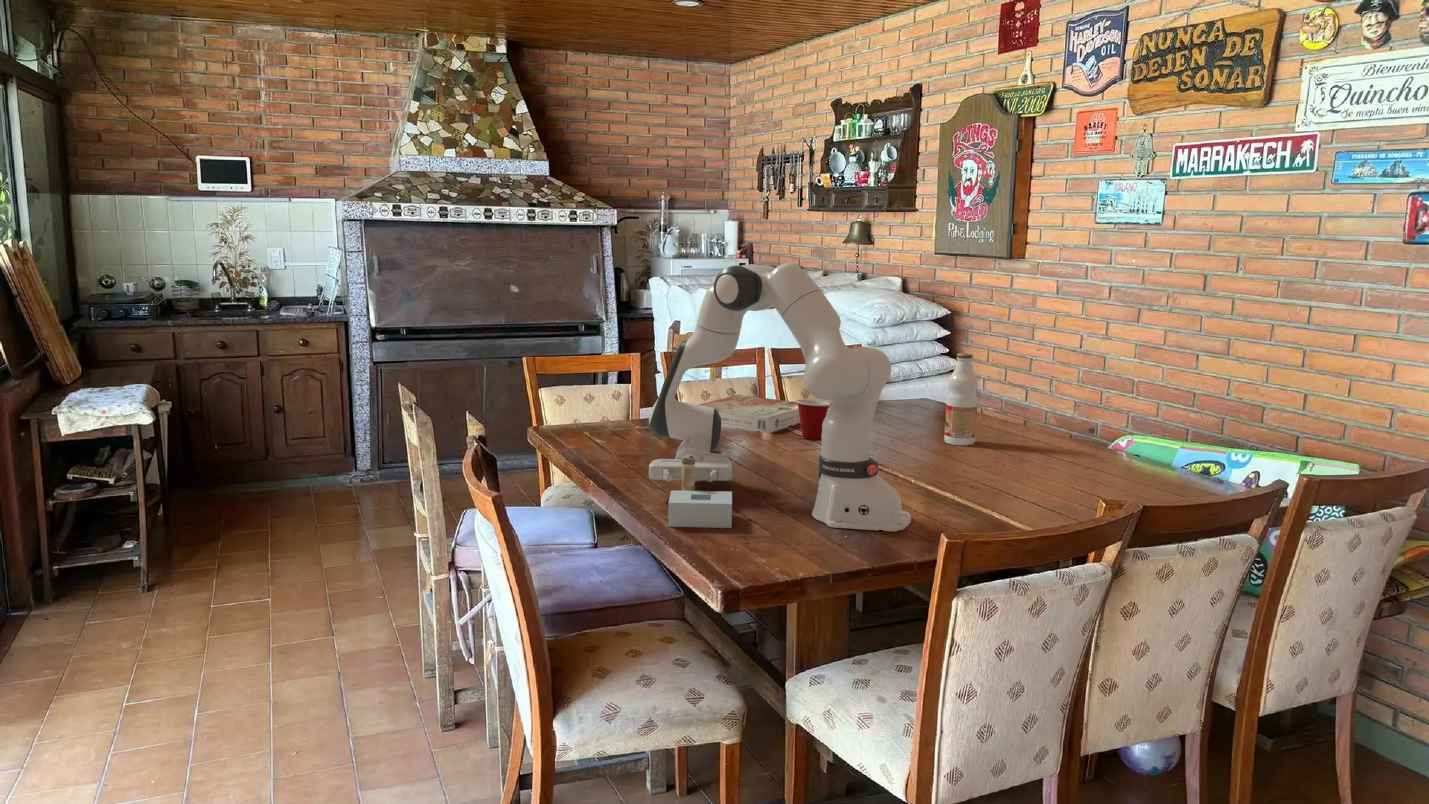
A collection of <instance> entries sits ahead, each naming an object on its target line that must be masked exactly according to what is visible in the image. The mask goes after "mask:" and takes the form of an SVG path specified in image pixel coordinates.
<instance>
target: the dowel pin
mask: <svg viewBox="0 0 1429 804" xmlns="http://www.w3.org/2000/svg"><path fill="white" fill-rule="evenodd" d="M695 483H696V482H695V459H693V458H684V459H682V480H681V491H696V486H695V485H696V484H695Z"/></svg>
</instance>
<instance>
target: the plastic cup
mask: <svg viewBox="0 0 1429 804" xmlns="http://www.w3.org/2000/svg"><path fill="white" fill-rule="evenodd" d="M795 402H797V403H798V409H799V416H800V423H799V424H800V428H801V436H802V439H804V440H807V441H808V440H809V441H818V440H820V439H821V440H822V424H823V421H824V419H825V417H826V416H827V414H828V410H829V407H830V406H832V404H831V403H830V402H828V401H825V400H823V401H822V400H818V399H817V400H815V399H797V400H796V401H795Z"/></svg>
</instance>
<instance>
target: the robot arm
mask: <svg viewBox="0 0 1429 804" xmlns="http://www.w3.org/2000/svg"><path fill="white" fill-rule="evenodd" d="M773 309H775V310H776V311H777V313H778V314H779V316H780V318H781V319H782V320H783V322H784V323H785V325H786V326H787V328H788V329H789V332H791V334H792V336H793V337H794V339H795V340H796V342H797V344H798V345H799V347H800V349H801V352H802V355H803V358H804V363H805V368H804V372H803V381H804V385H805V388H806V389H807V391H808V393H809V394H810V395H812V396H813V398H816V399H817V400H823V401H831V402H832V401H833V402H832V404H831V407H830V409H829V411H828V412H827V414H826V417H825V419H824V421H823V424H822V436H821V450H820V451H821V452H820V454H819V458H818V466H817V474H818V480H819V481H818V488H817V494H816V498H815V501H814V502H815V503H814V506H813V509H812V512H811V516H812V517H813V518H814V519H815V520H817V521H819V522H822V523H824V524H826V525H827V526H828V527H830V528H836V529H838V528H839V529H852V530H853V529H854V530H865V531H869V530H870V531H879V530H883V531H882V532H900V531H902V530H905V529H907V528H908V527H909V526H910V525H911V523H912V515H911V514H910V513H909V512H908V511H906V510H903V508H902V507H903V506H902V500H901V496H900V493H899V492H898V491H897V490H896V489H895V488H894V487H893V486H891V485H890V484H889V483H888V482H887V481H885V480H884V479H883V478H882V477H881V476H880V475H879V473H878V472H879V465H880V464H879V459H877V460H876V461H875V460H874V458H872V457H871V441H872V426H873V421H874V416H875V413H876V408H877V406H878V402H879V399H880V396H881V393H882V391H883V389H884V387H885V386H886V384H887V383H888V381H889V380H890V377H891V374H892V365H891V361H890V359H889V357H888V356H887V354H886V353H884V351H882V350H880V349H878V348H874V347H870V346H862V345H861V346H855V347H848V346H847V345H846V343H845V342H844V339H843V337H842V334H841V331H840V328H841V323H842V322H841V320H842V319H841V317H840V315H839V314H838V313H837V311H836V309H835V308H834V307H833V305H832V304H831V302H830V301H829V300H828V298H827V297H826V295H825V294H824V293H823V290H822V289H821V288H820V287H819V285H818V284H817V283H816V282H815V281H814V279H813V278H812V277H811V276H810V275H809V274H808V272H807V271H805V270H804V269H803V268H802V267H801V266H800V265H798V264H797V263H795V262H786V263H783V264H780V265H778V266H777V265H772V264H771V265H770V264H768V265H763V264H755V263H751V264H742V265H732V266H729V267H726V268H724V269H721V271H720V272H718V274H717V275H716V277H715V278H714V282H713V284H712V285H711V286H709V287H708V289H706V292H705V295H704V297H703V300H702V303H701V305H700V308H699V313H698V317H697V321H696V326H695V329H694V331H693V333H692V334H691V335H690V337H689V338H688V339H684V340H683V341H681V342H680V344H679V345H678V347H677V349H676V352H675V354H674V357H673V358H672V361H671V362H670V366H669V368H668V369H667V370H668V371H667V373H666V376H665V378H664V381H663V384H662V386H661V391H660V393H659V395H658V397H657V399H656V401H655V402H654V404H653V406H652V407H651V410H650V414H649V418H648V425H649V426H648V427H649V428H650V430H651V431H652V433H653V434H654V435H655V436H656V437H658V438H664V439H675V440H679V441H682V442H681V443H680V445H679V446H678V448H677V450H676V453H675V454H676V455H675V458H656V459H654V460H652V461H651V462H650V463H649V464H648V478H649V479H650V480H660V481H662V480H665V481H666V482H673V481H682V459H684V458H693V459H695V483H698V482H702V481H705V482H707V483H713V481H720V482H721V481H723V482H724V481H725V482H726V481H727V482H728V481H729V482H730V481H732V479H733V478H732V477H733V464H732V462H731V460H730V458H728V457H727V453H726V452H723V451H718V450H717V451H716V449H717V448H718V445H719V442H720V438H721V432H722V431H721V430H722V426H721V417H720V415H719V413H718V411H717V410H716V409H715V408H711V407H707V406H702V405H700V404H694V403H689V402H683V401H680V400H677V399H676V398H675V397H676V395H677V392H678V390H679V387H680V385H681V382H682V380H683V377H684V375H685V374H686V372H687V371H688V370H690V369H693V368H695V367H699V366H704V365H705V366H706V365H711V364H715V363H719V362H723V361H724V360H726V359H727V358H729V357H730V356H732V355H733V353H735V351H736V348H737V346H738V344H739V339H740V334H741V330H742V325H743V320H744V316H745V314H747V312H748V311H749V312H751V311H752V312H757V311H765V310H773ZM696 408H697V410H696ZM695 413H696V415H695ZM694 418H695V420H694ZM909 524H910V525H909ZM906 527H907V528H906ZM899 530H900V531H899Z"/></svg>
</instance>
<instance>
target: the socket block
mask: <svg viewBox="0 0 1429 804" xmlns="http://www.w3.org/2000/svg"><path fill="white" fill-rule="evenodd" d="M667 508H668V514H667V515H668V516H667V520H668V522H667V525H668V526H667V527H668V528H669V527H671V528H672V527H673V528H717V529H718V528H719V529H720V528H722V529H724V528H725V529H727V528H728V529H732V528H733V527H732V523H733V520H732V519H733V518H732V516H733V491H723V490H721V491H720V490H719V491H715V490H713V491H712V490H710V491H709V490H695V491H682V490H671V491H670V494H669V499H668V507H667Z"/></svg>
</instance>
